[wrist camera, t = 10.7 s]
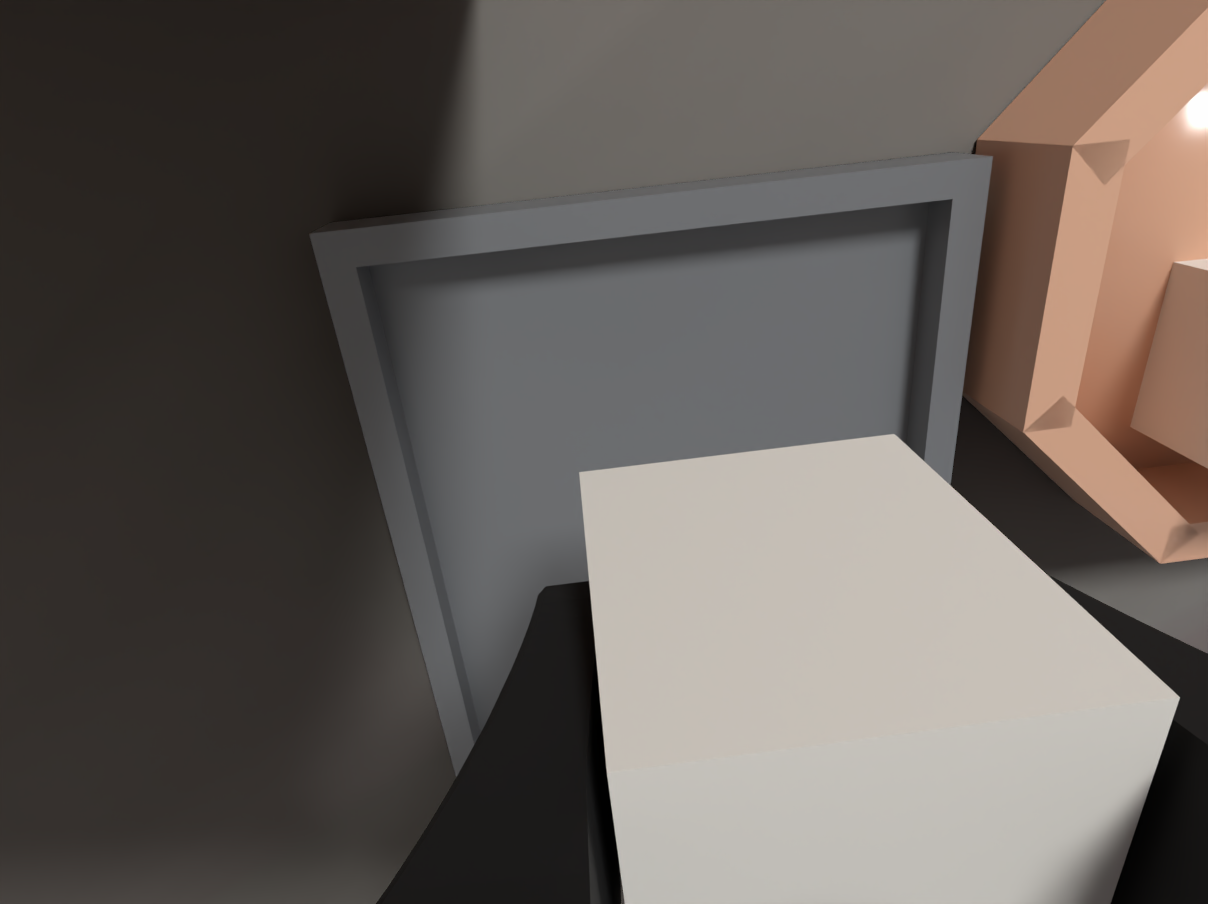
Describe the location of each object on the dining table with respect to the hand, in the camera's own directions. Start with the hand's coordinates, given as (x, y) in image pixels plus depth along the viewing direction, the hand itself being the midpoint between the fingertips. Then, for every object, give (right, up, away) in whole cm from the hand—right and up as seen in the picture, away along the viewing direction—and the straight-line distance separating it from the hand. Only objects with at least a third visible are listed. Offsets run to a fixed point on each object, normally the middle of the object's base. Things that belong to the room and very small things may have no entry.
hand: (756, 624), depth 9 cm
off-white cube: (0, 0, +1) cm, 1 cm away
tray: (0, +1, +9) cm, 9 cm away
